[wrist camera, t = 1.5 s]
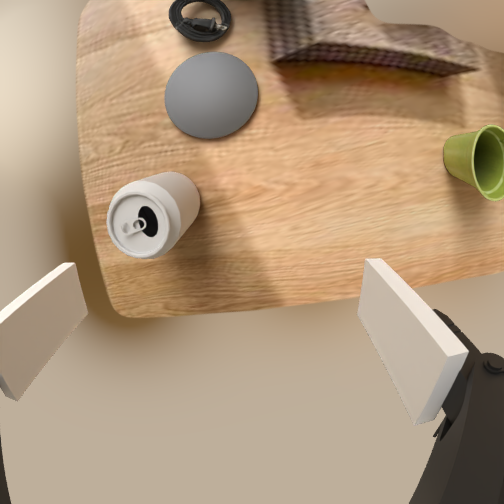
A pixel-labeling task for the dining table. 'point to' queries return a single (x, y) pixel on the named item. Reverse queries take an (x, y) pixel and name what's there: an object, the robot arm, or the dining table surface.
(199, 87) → the coaster
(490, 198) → the plant pot
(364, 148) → the dining table surface
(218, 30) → the milk frother
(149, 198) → the can
